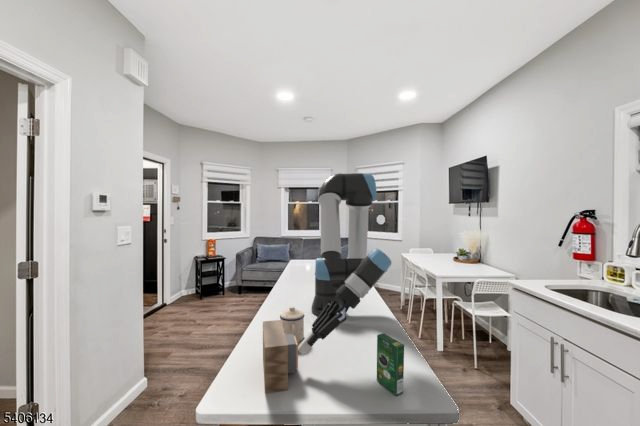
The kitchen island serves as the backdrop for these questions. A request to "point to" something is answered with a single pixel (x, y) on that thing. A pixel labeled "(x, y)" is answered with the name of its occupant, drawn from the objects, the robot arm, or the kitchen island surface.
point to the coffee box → (390, 363)
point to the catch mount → (275, 356)
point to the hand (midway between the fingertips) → (300, 351)
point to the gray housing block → (292, 352)
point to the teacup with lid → (293, 322)
